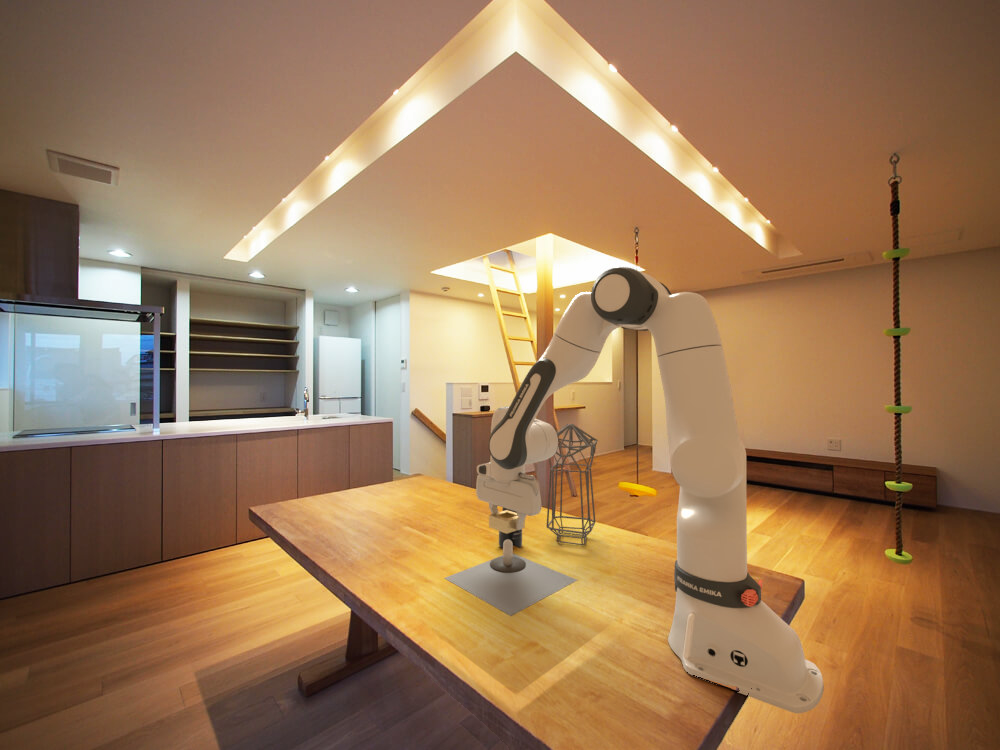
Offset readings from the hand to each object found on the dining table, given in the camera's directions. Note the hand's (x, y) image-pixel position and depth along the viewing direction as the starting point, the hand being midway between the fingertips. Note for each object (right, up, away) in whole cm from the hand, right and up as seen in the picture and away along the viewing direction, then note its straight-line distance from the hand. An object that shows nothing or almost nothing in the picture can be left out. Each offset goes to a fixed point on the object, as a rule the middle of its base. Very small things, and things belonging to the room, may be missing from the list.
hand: (506, 524), depth 104 cm
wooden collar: (0, -1, 0) cm, 1 cm away
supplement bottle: (+1, -12, +16) cm, 20 cm away
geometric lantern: (+20, -12, +21) cm, 31 cm away
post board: (+1, -11, -8) cm, 14 cm away
